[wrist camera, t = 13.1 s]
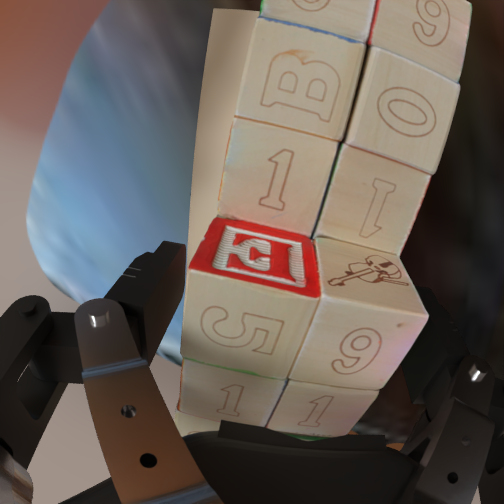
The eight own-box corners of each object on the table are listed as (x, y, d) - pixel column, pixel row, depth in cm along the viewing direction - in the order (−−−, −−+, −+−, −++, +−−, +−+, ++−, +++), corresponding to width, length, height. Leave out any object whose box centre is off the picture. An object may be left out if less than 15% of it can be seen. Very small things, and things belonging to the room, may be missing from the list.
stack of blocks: (283, 7, 13) (275, -126, 2) (392, 39, 13) (537, -12, 3) (213, 319, 23) (168, 469, 13) (294, 338, 24) (291, 491, 13)
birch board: (410, 54, 15) (422, 51, 13) (334, 333, 26) (336, 350, 24) (220, 16, 15) (213, 8, 14) (191, 309, 26) (185, 325, 24)
